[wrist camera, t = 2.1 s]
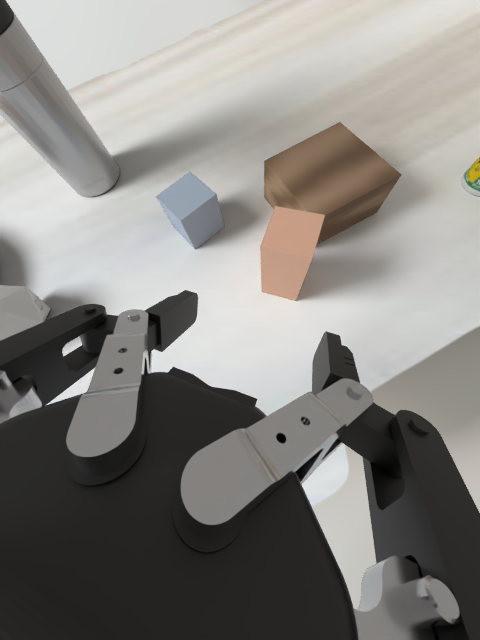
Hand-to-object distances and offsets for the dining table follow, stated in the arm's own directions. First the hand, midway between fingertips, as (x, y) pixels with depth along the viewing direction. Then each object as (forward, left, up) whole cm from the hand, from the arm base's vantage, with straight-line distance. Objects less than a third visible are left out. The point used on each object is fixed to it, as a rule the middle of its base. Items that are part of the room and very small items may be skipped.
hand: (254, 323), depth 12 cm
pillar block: (-8, +8, -14) cm, 18 cm away
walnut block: (-17, +19, -14) cm, 29 cm away
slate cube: (-23, +1, -14) cm, 27 cm away
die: (-20, -28, -14) cm, 37 cm away
